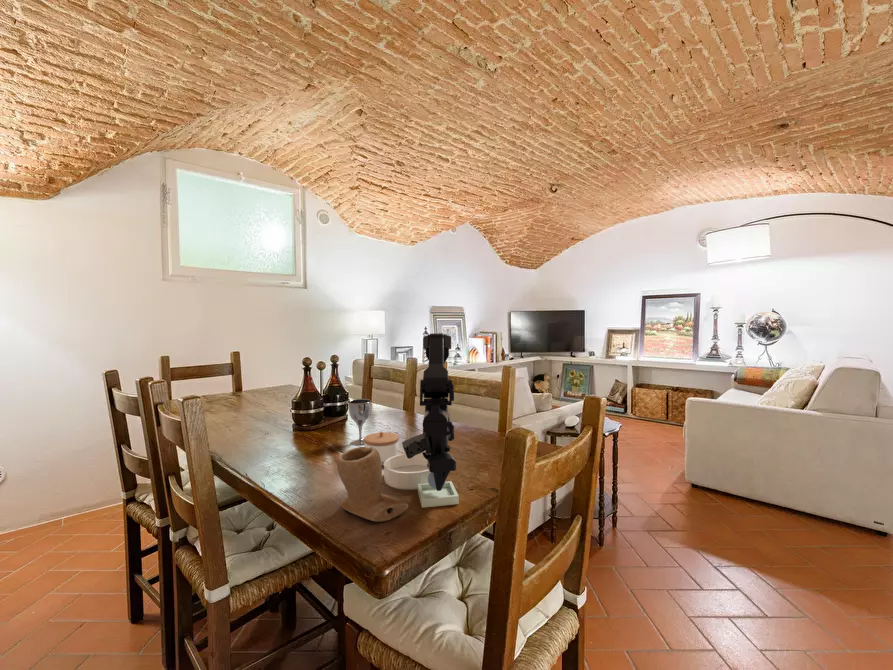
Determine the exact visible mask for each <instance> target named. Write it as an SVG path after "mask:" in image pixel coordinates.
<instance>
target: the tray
mask: <svg viewBox="0 0 893 670" xmlns="http://www.w3.org/2000/svg"><path fill="white" fill-rule="evenodd" d="M417 486H418V489H417V494H418V497H419V502H420V506H421V509H422V508H431V507H441V506H442V507H444V506H451V505H453V506H454V505H459V503H460V501H459V500H460V497H459V493H458V491H457V490H456V487H455V485H454V483H453V482H452V480H448V481H447V480H446V482H445V484H444V486H443V487H442V489H441V491H437V490H436V489H435V488H432V487H431V486H430V485H429V483H424V484H417Z"/></svg>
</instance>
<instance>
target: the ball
mask: <svg viewBox="0 0 893 670" xmlns="http://www.w3.org/2000/svg"><path fill="white" fill-rule="evenodd" d="M445 482H447V480H446V481H445ZM428 483H429V485H430V486H431V487H432V488H435V489H436V485H435V480H434V475H433V473H432V472H430V473H429V475H428ZM444 484H445V483H444ZM443 486H444V485H443Z"/></svg>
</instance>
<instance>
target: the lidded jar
mask: <svg viewBox="0 0 893 670" xmlns="http://www.w3.org/2000/svg"><path fill="white" fill-rule="evenodd" d="M363 439H364V445H363V447H367V448H370V447H374V448H375V449H376V450H377V451H378V452H379V455H380V458H381V466H384V462H385V461H386V460H387V459H388V458H391V457H393V456H396V455H398V451H399V440H400V437H399V435H398V434H396V433H393V432H385V431H379V432H375V433H369V434H367V435H366V436H365V437H364V438H363Z"/></svg>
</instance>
